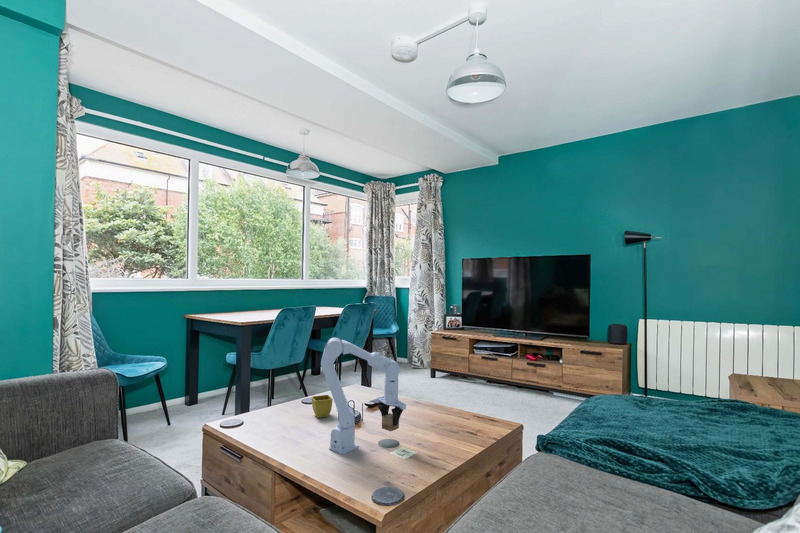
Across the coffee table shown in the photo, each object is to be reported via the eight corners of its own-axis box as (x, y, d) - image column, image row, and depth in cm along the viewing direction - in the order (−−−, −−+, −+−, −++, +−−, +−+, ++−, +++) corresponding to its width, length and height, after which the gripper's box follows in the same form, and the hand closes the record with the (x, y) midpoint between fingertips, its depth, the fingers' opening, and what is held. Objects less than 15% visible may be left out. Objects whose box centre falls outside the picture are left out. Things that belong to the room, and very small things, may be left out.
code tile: (405, 460, 150) (405, 459, 150) (388, 454, 155) (388, 453, 156) (417, 453, 157) (417, 452, 157) (401, 447, 162) (401, 446, 162)
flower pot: (310, 414, 199) (311, 396, 200) (327, 412, 203) (328, 394, 203) (314, 420, 191) (315, 401, 192) (332, 417, 195) (333, 399, 195)
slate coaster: (390, 450, 158) (390, 449, 158) (373, 444, 164) (373, 443, 164) (404, 443, 165) (404, 442, 165) (387, 438, 171) (387, 437, 171)
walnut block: (390, 431, 160) (391, 418, 161) (381, 428, 164) (382, 415, 164) (398, 428, 164) (399, 415, 164) (389, 425, 167) (389, 412, 168)
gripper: (411, 391, 163) (410, 425, 162) (384, 385, 172) (383, 416, 172) (400, 395, 158) (399, 430, 157) (373, 388, 167) (372, 421, 166)
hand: (390, 423), depth 164 cm, fingers closed on walnut block, 5 cm apart
